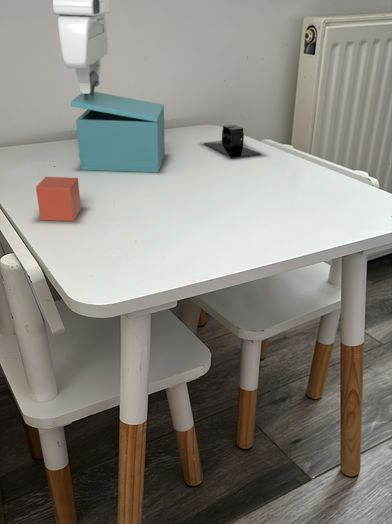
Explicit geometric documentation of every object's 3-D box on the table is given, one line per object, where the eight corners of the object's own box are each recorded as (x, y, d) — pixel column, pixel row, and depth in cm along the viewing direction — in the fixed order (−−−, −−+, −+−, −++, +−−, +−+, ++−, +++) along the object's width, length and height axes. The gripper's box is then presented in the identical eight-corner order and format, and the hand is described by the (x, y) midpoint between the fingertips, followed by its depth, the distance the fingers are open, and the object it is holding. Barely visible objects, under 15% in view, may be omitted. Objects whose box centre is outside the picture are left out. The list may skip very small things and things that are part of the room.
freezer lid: (70, 106, 98) (71, 76, 95) (85, 94, 108) (86, 67, 105) (156, 122, 99) (160, 93, 96) (163, 108, 108) (166, 82, 106)
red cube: (40, 220, 83) (35, 187, 80) (49, 208, 87) (45, 176, 84) (73, 221, 83) (69, 188, 80) (81, 209, 87) (77, 177, 84)
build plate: (204, 144, 121) (204, 122, 119) (233, 141, 124) (234, 119, 122) (231, 158, 112) (233, 134, 110) (262, 155, 115) (264, 131, 112)
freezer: (80, 169, 104) (75, 120, 99) (93, 153, 114) (89, 107, 109) (158, 172, 104) (157, 122, 99) (164, 155, 113) (164, 109, 108)
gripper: (79, -3, 103) (85, 79, 110) (49, 1, 86) (59, 98, 93) (113, -2, 102) (117, 81, 110) (89, 3, 86) (96, 100, 93)
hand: (90, 89), depth 102 cm, fingers closed on freezer lid, 6 cm apart
